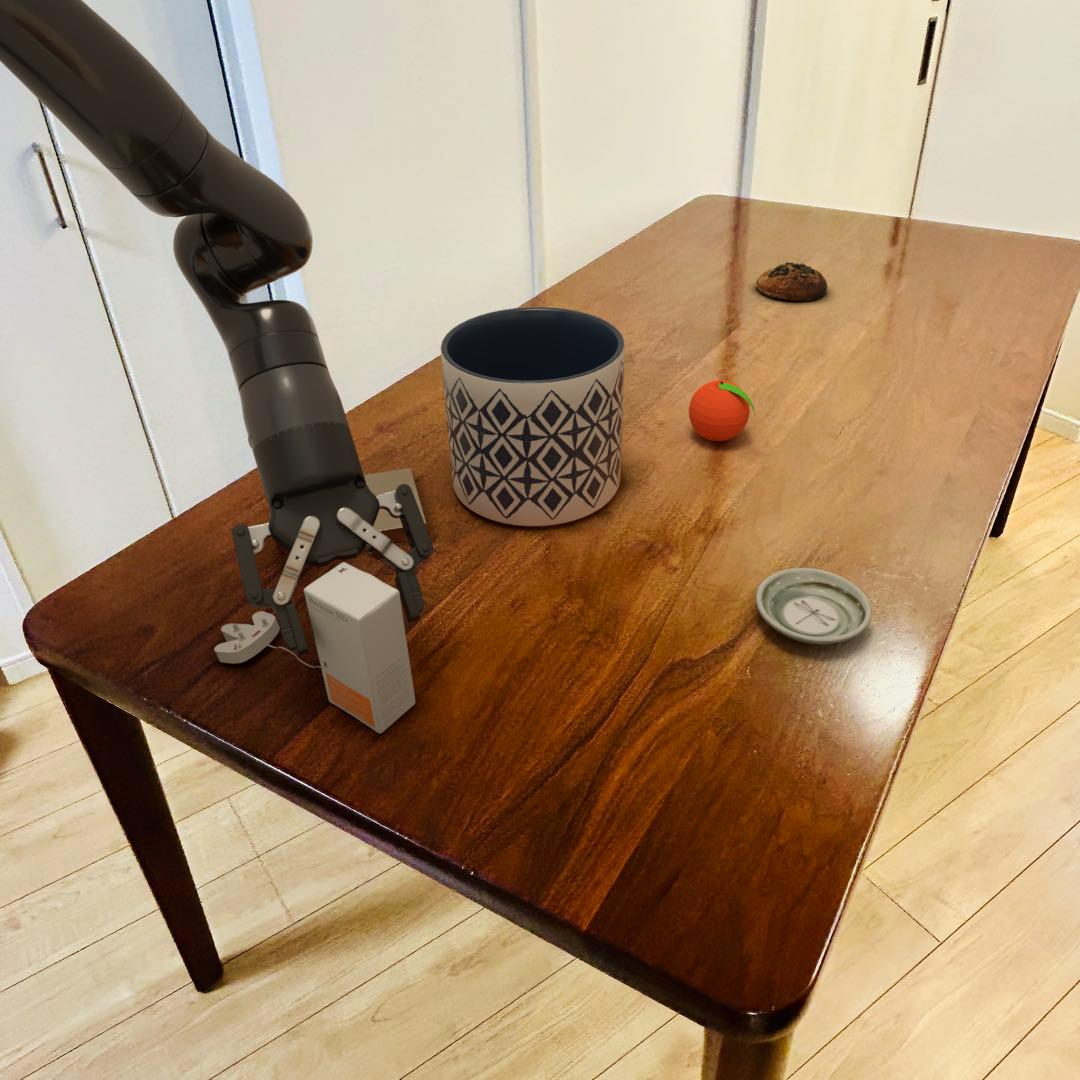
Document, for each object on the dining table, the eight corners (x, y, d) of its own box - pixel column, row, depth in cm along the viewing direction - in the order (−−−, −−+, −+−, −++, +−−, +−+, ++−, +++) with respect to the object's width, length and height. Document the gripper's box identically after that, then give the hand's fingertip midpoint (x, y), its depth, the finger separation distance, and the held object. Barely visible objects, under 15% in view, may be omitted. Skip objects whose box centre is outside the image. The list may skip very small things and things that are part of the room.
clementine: (765, 437, 105) (773, 381, 101) (735, 461, 101) (742, 404, 97) (705, 417, 109) (711, 363, 105) (674, 440, 105) (679, 384, 101)
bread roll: (815, 306, 136) (816, 273, 133) (745, 303, 142) (744, 271, 139) (837, 286, 144) (838, 254, 141) (769, 284, 149) (769, 253, 147)
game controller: (235, 621, 81) (229, 598, 79) (358, 634, 79) (354, 612, 78) (206, 665, 76) (198, 642, 75) (335, 680, 75) (331, 657, 73)
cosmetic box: (327, 703, 72) (300, 587, 65) (365, 673, 75) (343, 558, 68) (380, 737, 69) (358, 620, 62) (418, 704, 72) (401, 588, 65)
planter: (503, 551, 88) (495, 400, 79) (425, 469, 101) (409, 331, 91) (653, 496, 96) (662, 352, 86) (563, 426, 108) (562, 294, 99)
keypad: (286, 561, 88) (279, 531, 86) (282, 501, 96) (275, 473, 94) (428, 536, 91) (424, 507, 89) (412, 480, 99) (408, 453, 97)
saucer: (731, 627, 79) (734, 606, 77) (786, 574, 84) (789, 553, 83) (835, 677, 73) (840, 655, 72) (885, 617, 79) (891, 595, 78)
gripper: (201, 442, 64) (264, 662, 62) (395, 400, 68) (458, 604, 67) (209, 471, 71) (265, 669, 69) (384, 431, 76) (441, 616, 74)
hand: (360, 637), depth 68 cm, fingers open, 8 cm apart
